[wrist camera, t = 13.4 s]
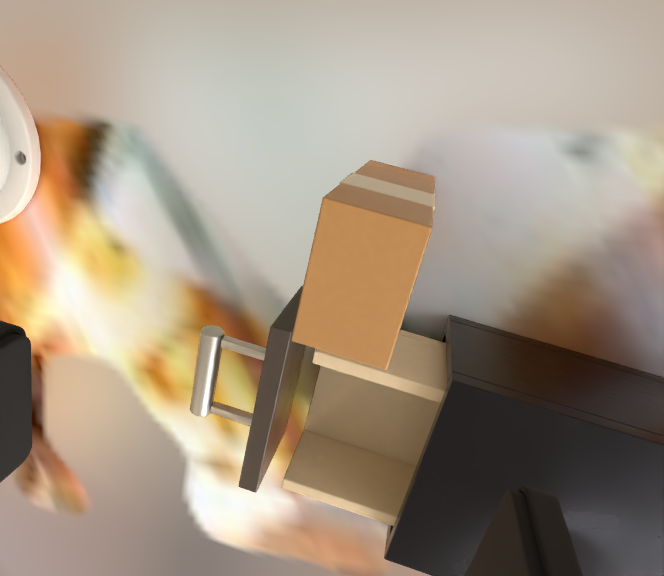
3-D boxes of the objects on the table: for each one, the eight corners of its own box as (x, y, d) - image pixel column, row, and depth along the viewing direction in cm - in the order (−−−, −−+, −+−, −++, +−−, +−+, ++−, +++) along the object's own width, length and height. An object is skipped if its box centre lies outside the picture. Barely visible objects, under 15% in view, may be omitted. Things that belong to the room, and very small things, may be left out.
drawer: (211, 406, 37) (168, 463, 31) (234, 265, 32) (189, 300, 27) (449, 484, 35) (451, 561, 29) (507, 346, 31) (524, 403, 25)
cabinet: (395, 464, 37) (384, 559, 29) (449, 314, 32) (452, 380, 24) (595, 530, 35) (639, 649, 27) (685, 383, 30) (768, 477, 22)
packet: (345, 252, 32) (289, 341, 20) (369, 158, 29) (321, 194, 17) (407, 270, 31) (387, 372, 19) (436, 176, 29) (434, 225, 17)
